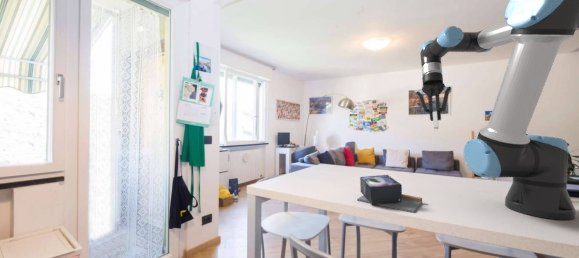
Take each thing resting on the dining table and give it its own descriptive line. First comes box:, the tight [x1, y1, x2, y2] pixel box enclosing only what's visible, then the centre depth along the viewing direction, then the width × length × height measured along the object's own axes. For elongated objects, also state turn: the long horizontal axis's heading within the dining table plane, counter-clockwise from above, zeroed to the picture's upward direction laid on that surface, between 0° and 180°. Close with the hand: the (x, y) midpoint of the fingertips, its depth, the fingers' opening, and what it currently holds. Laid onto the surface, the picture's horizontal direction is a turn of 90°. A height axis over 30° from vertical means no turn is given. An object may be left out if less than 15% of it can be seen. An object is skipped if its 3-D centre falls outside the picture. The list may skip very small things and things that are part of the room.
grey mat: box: [356, 193, 423, 214], centre depth 84 cm, size 18×12×2 cm, turn 50°
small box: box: [359, 174, 403, 205], centre depth 85 cm, size 11×6×10 cm
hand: (436, 127), depth 99 cm, fingers closed
